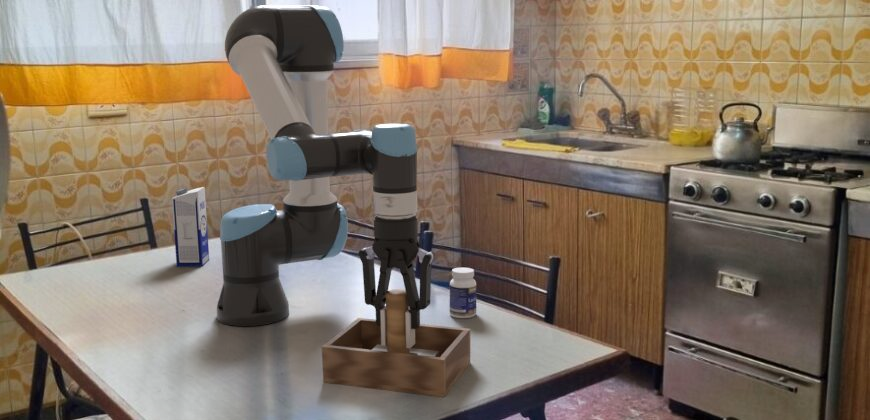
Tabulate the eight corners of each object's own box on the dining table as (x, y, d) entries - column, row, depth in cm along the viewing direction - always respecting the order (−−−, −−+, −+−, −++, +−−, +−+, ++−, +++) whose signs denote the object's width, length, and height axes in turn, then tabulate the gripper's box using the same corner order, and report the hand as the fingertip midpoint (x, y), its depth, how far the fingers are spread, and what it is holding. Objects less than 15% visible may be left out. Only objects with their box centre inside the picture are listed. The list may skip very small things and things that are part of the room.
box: (323, 382, 154) (321, 346, 152) (359, 350, 169) (358, 317, 167) (444, 397, 147) (443, 360, 146) (470, 362, 162) (470, 328, 161)
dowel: (392, 363, 160) (390, 288, 157) (413, 365, 159) (411, 290, 156) (384, 371, 156) (382, 295, 153) (405, 373, 155) (403, 297, 152)
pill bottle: (474, 320, 186) (474, 274, 183) (447, 318, 187) (447, 272, 185) (478, 311, 191) (478, 266, 189) (452, 310, 192) (452, 265, 190)
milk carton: (202, 266, 229) (197, 190, 225) (176, 266, 229) (170, 190, 225) (209, 259, 236) (204, 185, 232) (184, 259, 236) (179, 185, 232)
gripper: (341, 216, 151) (345, 346, 156) (436, 221, 146) (437, 356, 150) (358, 208, 158) (361, 333, 163) (449, 213, 153) (450, 342, 157)
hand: (398, 344), depth 156 cm, fingers closed on dowel, 4 cm apart
